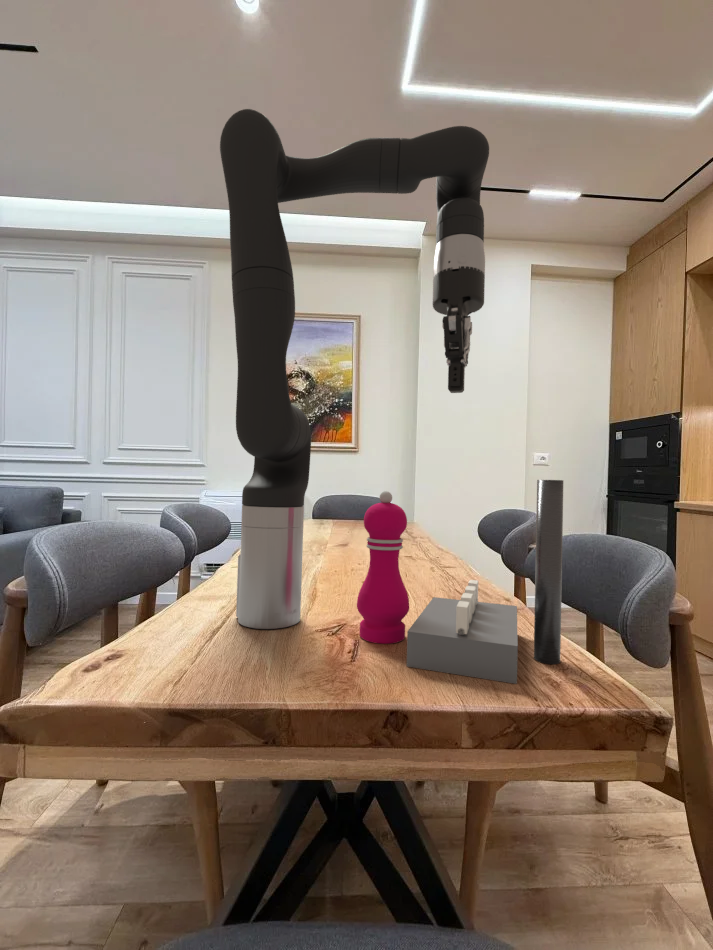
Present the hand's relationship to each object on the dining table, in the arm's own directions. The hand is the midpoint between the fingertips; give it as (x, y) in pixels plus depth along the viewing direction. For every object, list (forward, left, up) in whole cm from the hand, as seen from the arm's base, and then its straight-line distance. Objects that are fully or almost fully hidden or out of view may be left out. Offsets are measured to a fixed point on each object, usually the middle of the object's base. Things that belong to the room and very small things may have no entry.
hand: (456, 391), depth 68 cm
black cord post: (+14, -1, -35) cm, 38 cm away
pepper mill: (-4, -10, -35) cm, 37 cm away
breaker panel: (+6, -5, -35) cm, 36 cm away
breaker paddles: (+6, -5, -31) cm, 32 cm away
